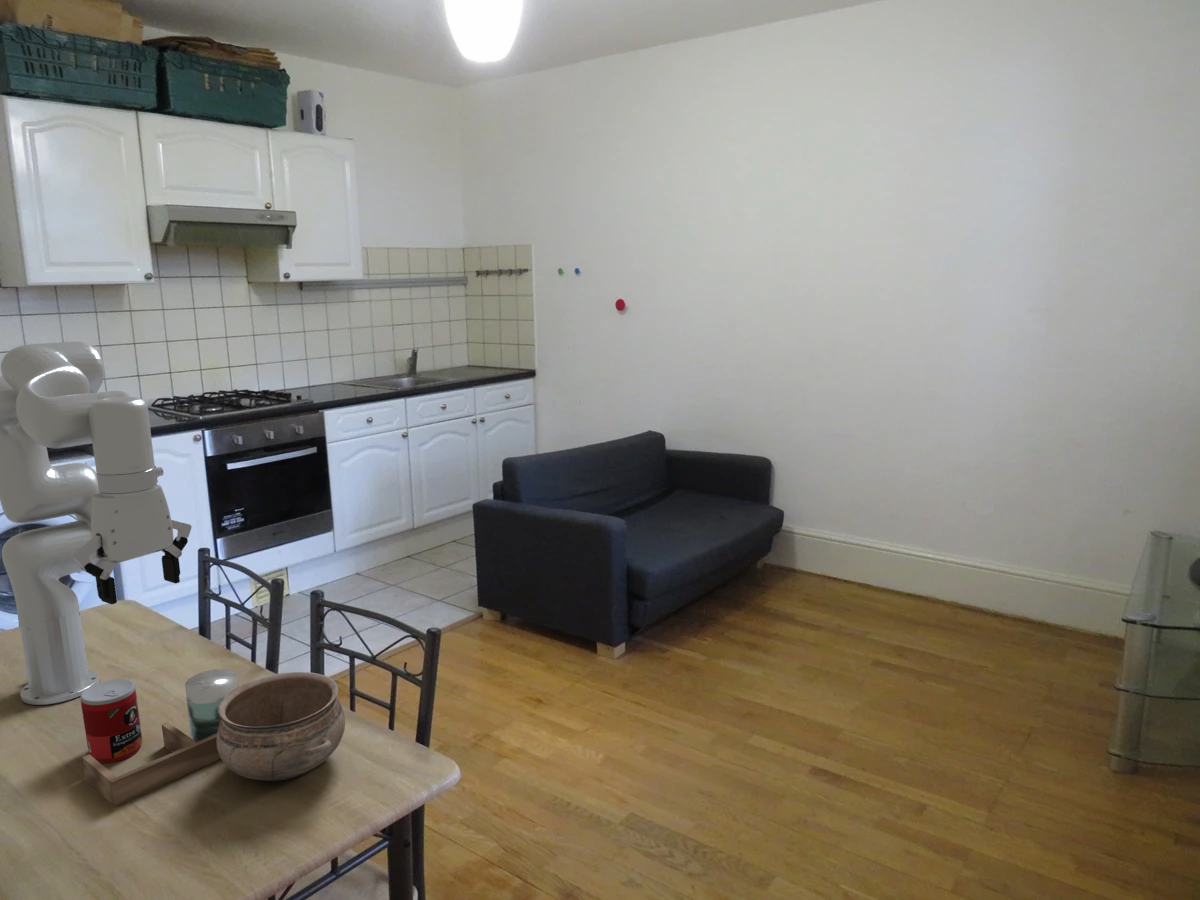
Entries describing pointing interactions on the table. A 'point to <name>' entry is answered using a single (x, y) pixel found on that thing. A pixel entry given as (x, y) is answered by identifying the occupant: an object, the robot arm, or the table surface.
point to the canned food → (111, 720)
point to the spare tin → (207, 700)
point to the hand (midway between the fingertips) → (141, 591)
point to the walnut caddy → (153, 767)
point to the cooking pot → (280, 725)
